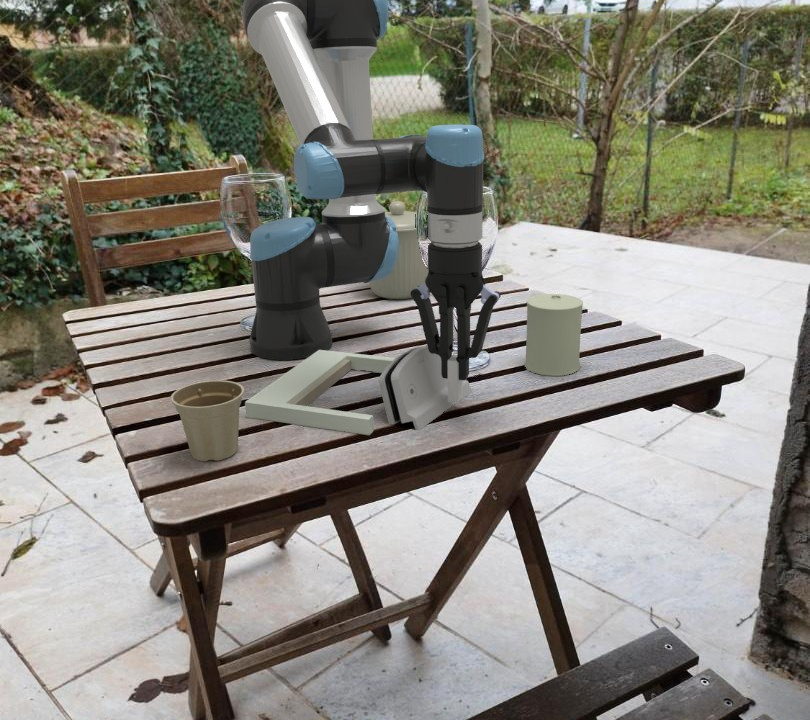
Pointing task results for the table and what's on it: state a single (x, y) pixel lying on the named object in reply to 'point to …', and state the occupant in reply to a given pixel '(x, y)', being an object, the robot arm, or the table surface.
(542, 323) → the can
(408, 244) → the canister
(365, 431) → the beige flat angled piece
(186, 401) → the flower pot
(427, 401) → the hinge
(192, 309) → the table surface
